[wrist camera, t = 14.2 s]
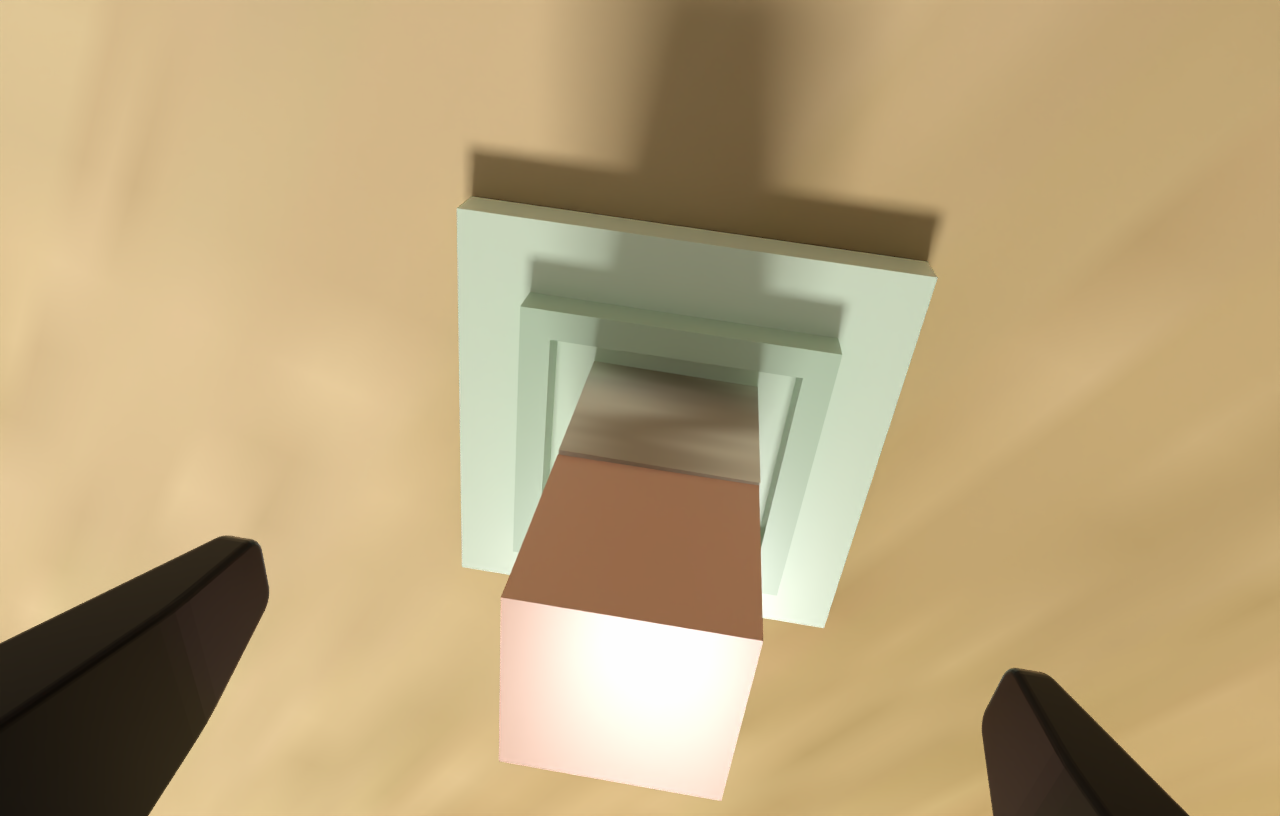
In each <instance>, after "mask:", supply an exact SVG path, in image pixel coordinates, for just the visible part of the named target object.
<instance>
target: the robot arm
mask: <svg viewBox="0 0 1280 816" xmlns="http://www.w3.org/2000/svg"><path fill="white" fill-rule="evenodd" d="M268 598H269V585H268V580H267V575H266V569H265V564H264V559H263V554H262V549H261V546H260V545H259V544H258V542H257V541H254V540H252V539H246V538H240V537H234V536H221V537H218V538H216V539H214V540H211V541H209V542H207V543H205V544H203V545H201V546H199V547H197V548H195V549H193V550H191V551H189V552H187V553H185V554H183V555H181V556H179V557H177V558H174V559H172V560H170V561H168V562H166V563H164V564H162V565H160V566H158V567H156V568H154V569H152V570H150V571H148V572H146V573H144V574H142V575H140V576H138V577H135V578H133V579H131V580H129V581H127V582H125V583H123V584H121V585H119V586H117V587H115V588H113V589H111V590H109V591H107V592H105V593H103V594H101V595H98V596H96V597H94V598H92V599H90V600H88V601H86V602H84V603H82V604H80V605H78V606H76V607H74V608H72V609H70V610H68V611H66V612H64V613H62V614H59V615H57V616H55V617H53V618H51V619H49V620H47V621H45V622H43V623H41V624H39V625H37V626H35V627H33V628H31V629H29V630H27V631H25V632H22V633H20V634H18V635H16V636H14V637H12V638H10V639H8V640H6V641H4V642H2V643H0V816H148V815H149V814H150V812H151V811H152V809H153V807H154V806H155V804H156V803H157V801H158V800H159V798H160V796H161V795H162V793H163V792H164V790H165V789H166V787H167V786H168V784H169V782H170V781H171V779H172V778H173V776H174V775H175V773H176V772H177V770H178V768H179V767H180V765H181V764H182V762H183V761H184V759H185V757H186V756H187V754H188V753H189V751H190V750H191V748H192V747H193V745H194V743H195V742H196V740H197V739H198V737H199V735H200V734H201V732H202V730H203V729H204V727H205V725H206V724H207V722H208V720H209V718H210V717H211V715H212V713H213V711H214V709H215V707H216V706H217V704H218V702H219V700H220V698H221V696H222V694H223V692H224V690H225V688H226V686H227V684H228V682H229V680H230V678H231V676H232V674H233V672H234V670H235V668H236V666H237V664H238V662H239V660H240V658H241V656H242V654H243V652H244V650H245V648H246V646H247V644H248V642H249V640H250V639H251V637H252V635H253V633H254V631H255V629H256V627H257V625H258V623H259V621H260V619H261V617H262V615H263V613H264V611H265V609H266V606H267V603H268ZM982 737H983V744H984V752H985V759H986V766H987V774H988V781H989V788H990V796H991V803H992V810H993V816H1189V815H1188V814H1187V813H1186V812H1185V811H1184V810H1183V809H1182V808H1181V807H1180V806H1179V805H1178V804H1177V803H1176V802H1175V801H1174V800H1173V799H1172V798H1171V797H1170V796H1169V795H1168V794H1167V793H1166V792H1165V791H1164V790H1163V789H1162V788H1161V787H1160V786H1159V785H1158V784H1157V783H1156V782H1155V781H1154V780H1153V779H1152V778H1151V777H1150V776H1149V775H1148V774H1147V773H1146V772H1145V771H1144V770H1143V769H1142V768H1141V767H1140V766H1139V765H1138V764H1137V762H1136V761H1135V760H1134V759H1133V758H1132V757H1131V756H1130V755H1129V754H1128V753H1127V752H1126V751H1125V750H1124V749H1123V748H1122V747H1121V746H1120V745H1119V744H1118V743H1117V742H1116V741H1115V740H1114V739H1113V738H1112V737H1111V736H1110V735H1109V734H1108V733H1107V732H1106V731H1105V730H1104V729H1103V728H1102V727H1101V726H1100V725H1099V724H1098V723H1097V722H1096V721H1095V720H1094V719H1093V718H1092V717H1091V716H1090V715H1089V714H1088V713H1087V712H1086V711H1085V710H1084V709H1083V708H1082V707H1081V706H1080V705H1079V704H1078V703H1077V702H1076V701H1075V700H1074V699H1073V698H1072V697H1071V696H1070V695H1069V694H1068V693H1067V692H1066V691H1065V690H1064V689H1063V688H1062V687H1061V686H1060V685H1059V684H1058V683H1057V682H1056V681H1055V680H1054V679H1053V678H1051V677H1050V676H1049V675H1047V674H1045V673H1042V672H1037V671H1031V670H1025V669H1019V668H1011V669H1009V670H1008V671H1006V672H1005V674H1004V675H1003V677H1002V679H1001V681H1000V683H999V685H998V687H997V688H996V690H995V692H994V694H993V696H992V698H991V700H990V702H989V704H988V706H987V708H986V710H985V712H984V716H983V720H982Z"/></svg>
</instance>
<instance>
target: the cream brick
mask: <svg viewBox="0 0 1280 816" xmlns="http://www.w3.org/2000/svg"><path fill="white" fill-rule="evenodd" d="M559 455H566V456H572V457H579V458H585V459H592V460H598V461H605V462H611V463H617V464H624V465H630V466H637V467H643V468H650V469H656V470H662V471H669V472H675V473H682V474H688V475H695V476H701V477H708V478H714V479H720V480H727V481H733V482H740V483H746V484H753V485H759V487H760V483H761V482H760V447H759V412H758V387H755V386H749V385H743V384H736V383H730V382H724V381H717V380H711V379H705V378H698V377H692V376H686V375H679V374H673V373H667V372H660V371H654V370H648V369H642V368H635V367H629V366H623V365H616V364H610V363H604V362H597V361H594V363H593V365H592V368H591V370H590V373H589V375H588V378H587V380H586V383H585V385H584V388H583V390H582V393H581V395H580V398H579V400H578V403H577V405H576V408H575V410H574V413H573V415H572V418H571V420H570V423H569V425H568V428H567V430H566V433H565V435H564V438H563V440H562V443H561V445H560V448H559Z"/></svg>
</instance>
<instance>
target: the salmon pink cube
mask: <svg viewBox="0 0 1280 816" xmlns="http://www.w3.org/2000/svg"><path fill="white" fill-rule="evenodd" d="M762 644H763V616H762V577H761V538H760V499H759V485H753V484H746V483H740V482H733V481H727V480H720V479H714V478H708V477H701V476H695V475H688V474H682V473H675V472H669V471H662V470H656V469H650V468H643V467H637V466H630V465H624V464H617V463H611V462H605V461H598V460H592V459H585V458H579V457H572V456H566V455H559V454H558V455H557V457H556V460H555V462H554V465H553V467H552V470H551V473H550V475H549V478H548V480H547V483H546V485H545V488H544V490H543V493H542V495H541V498H540V500H539V503H538V505H537V508H536V510H535V513H534V515H533V518H532V520H531V523H530V526H529V528H528V531H527V533H526V536H525V538H524V541H523V543H522V546H521V548H520V551H519V553H518V556H517V558H516V561H515V563H514V566H513V568H512V571H511V573H510V576H509V578H508V581H507V584H506V586H505V589H504V591H503V594H502V596H501V636H500V716H499V761H501V762H506V763H512V764H518V765H523V766H529V767H534V768H540V769H546V770H551V771H557V772H562V773H568V774H574V775H579V776H585V777H590V778H596V779H602V780H607V781H613V782H618V783H624V784H630V785H635V786H641V787H646V788H652V789H657V790H663V791H669V792H674V793H680V794H685V795H691V796H697V797H702V798H708V799H713V800H719V801H721V800H722V796H723V792H724V788H725V785H726V781H727V777H728V773H729V769H730V766H731V762H732V758H733V754H734V750H735V746H736V743H737V739H738V735H739V731H740V727H741V724H742V720H743V716H744V712H745V708H746V705H747V701H748V697H749V693H750V689H751V686H752V682H753V678H754V674H755V670H756V666H757V663H758V659H759V655H760V651H761V647H762Z"/></svg>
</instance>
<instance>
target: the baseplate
mask: <svg viewBox="0 0 1280 816" xmlns="http://www.w3.org/2000/svg"><path fill="white" fill-rule="evenodd" d="M457 259H458V326H459V394H460V461H461V528H462V567H466V568H472V569H478V570H483V571H489V572H495V573H501V574H507V575H510V573H511V571H512V568H513V566H514V563H515V561H516V558H517V556H518V553H519V551H520V548H521V546H522V543H523V541H524V538H525V536H526V533H527V531H528V528H529V526H530V523H531V520H532V518H533V515H534V513H535V510H536V508H537V505H538V503H539V500H540V498H541V495H542V493H543V490H544V488H545V485H546V483H547V480H548V478H549V475H550V473H551V470H552V467H553V465H554V462H555V460H556V457H557V455H558V454H559V448H560V445H561V443H562V440H563V438H564V435H565V433H566V430H567V428H568V425H569V423H570V420H571V418H572V415H573V413H574V410H575V408H576V405H577V403H578V400H579V398H580V395H581V393H582V390H583V388H584V385H585V383H586V380H587V378H588V375H589V373H590V370H591V368H592V365H593V363H594V361H597V362H604V363H610V364H616V365H623V366H629V367H635V368H642V369H648V370H654V371H660V372H667V373H673V374H679V375H686V376H692V377H698V378H705V379H711V380H717V381H724V382H730V383H736V384H743V385H749V386H755V387H758V412H759V447H760V482H761V483H760V487H759V499H760V538H761V577H762V616H763V618H767V619H773V620H779V621H785V622H791V623H796V624H802V625H808V626H814V627H820V628H824V626H825V623H826V620H827V617H828V614H829V611H830V607H831V604H832V601H833V598H834V595H835V592H836V589H837V586H838V583H839V580H840V577H841V574H842V571H843V567H844V564H845V561H846V558H847V555H848V552H849V549H850V546H851V543H852V540H853V537H854V534H855V531H856V527H857V524H858V521H859V518H860V515H861V512H862V509H863V506H864V503H865V500H866V497H867V494H868V490H869V487H870V484H871V481H872V478H873V475H874V472H875V469H876V466H877V463H878V460H879V457H880V454H881V450H882V447H883V444H884V441H885V438H886V435H887V432H888V429H889V426H890V423H891V420H892V417H893V414H894V410H895V407H896V404H897V401H898V398H899V395H900V392H901V389H902V386H903V383H904V380H905V377H906V374H907V370H908V367H909V364H910V361H911V358H912V355H913V352H914V349H915V346H916V343H917V340H918V337H919V334H920V330H921V327H922V324H923V321H924V318H925V315H926V312H927V309H928V306H929V303H930V300H931V297H932V294H933V290H934V287H935V284H936V281H937V278H938V277H937V276H936V274H935V273H934V271H933V270H932V268H931V266H930V265H929V263H928V262H927V261H920V260H913V259H906V258H899V257H892V256H885V255H878V254H871V253H864V252H857V251H850V250H843V249H836V248H829V247H822V246H815V245H808V244H801V243H794V242H787V241H780V240H773V239H766V238H759V237H752V236H745V235H738V234H731V233H724V232H717V231H710V230H703V229H696V228H689V227H682V226H675V225H668V224H661V223H654V222H647V221H641V220H634V219H627V218H620V217H613V216H606V215H599V214H592V213H585V212H578V211H571V210H564V209H557V208H550V207H543V206H536V205H529V204H522V203H515V202H508V201H501V200H494V199H487V198H480V197H473V196H472V197H470V198H469V199H468V200H466V201H465V202H464V203H463V204H461V205H460V206H459V207H458V208H457Z"/></svg>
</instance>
